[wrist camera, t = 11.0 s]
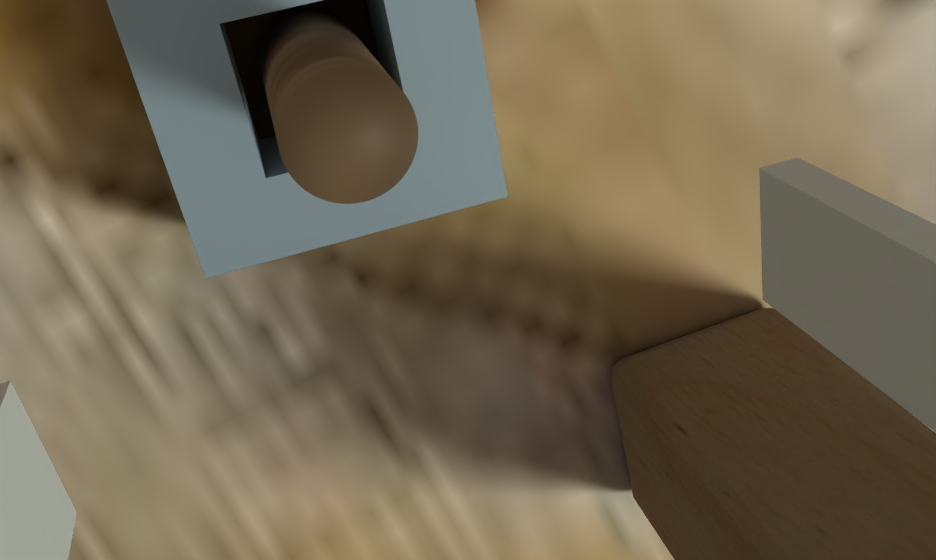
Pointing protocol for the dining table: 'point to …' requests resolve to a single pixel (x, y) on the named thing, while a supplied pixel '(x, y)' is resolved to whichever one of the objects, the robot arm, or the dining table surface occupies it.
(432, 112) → the socket block
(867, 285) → the robot arm
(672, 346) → the wooden block
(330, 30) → the walnut peg
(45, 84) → the dining table surface
